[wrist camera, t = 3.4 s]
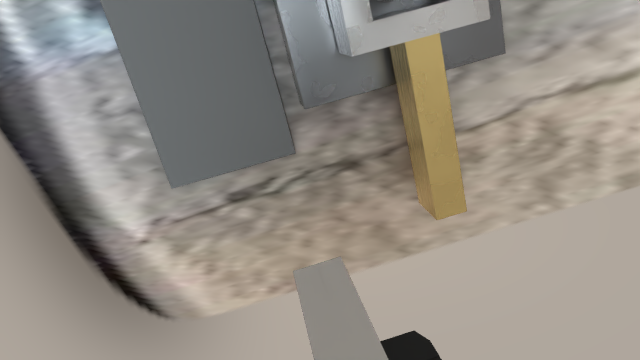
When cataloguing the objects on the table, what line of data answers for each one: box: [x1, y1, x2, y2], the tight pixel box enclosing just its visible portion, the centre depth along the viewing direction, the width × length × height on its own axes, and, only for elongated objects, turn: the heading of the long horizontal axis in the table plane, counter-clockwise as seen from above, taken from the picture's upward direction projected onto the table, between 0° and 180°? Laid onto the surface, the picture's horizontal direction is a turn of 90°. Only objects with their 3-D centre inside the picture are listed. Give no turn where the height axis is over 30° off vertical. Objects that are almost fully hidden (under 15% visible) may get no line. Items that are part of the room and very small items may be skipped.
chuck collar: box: [327, 0, 490, 220], centre depth 23 cm, size 15×6×3 cm, turn 14°
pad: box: [100, 0, 295, 188], centre depth 25 cm, size 10×7×1 cm
